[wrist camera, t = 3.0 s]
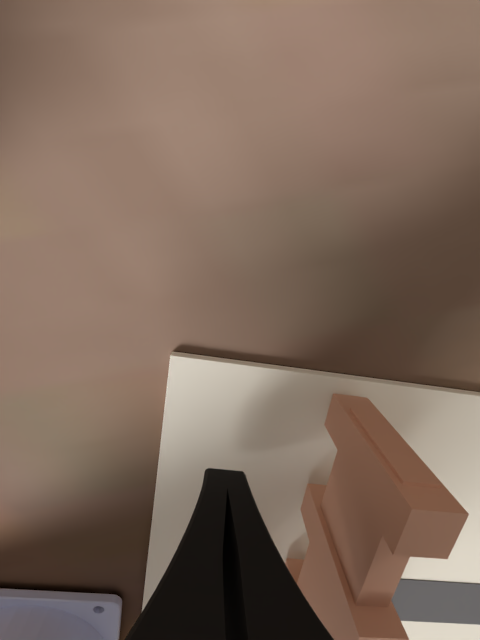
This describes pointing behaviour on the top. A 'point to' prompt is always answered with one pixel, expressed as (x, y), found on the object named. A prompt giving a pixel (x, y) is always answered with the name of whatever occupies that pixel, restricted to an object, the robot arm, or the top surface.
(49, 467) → the top surface
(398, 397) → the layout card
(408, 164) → the top surface
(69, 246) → the top surface
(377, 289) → the top surface
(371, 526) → the folding fence panel
